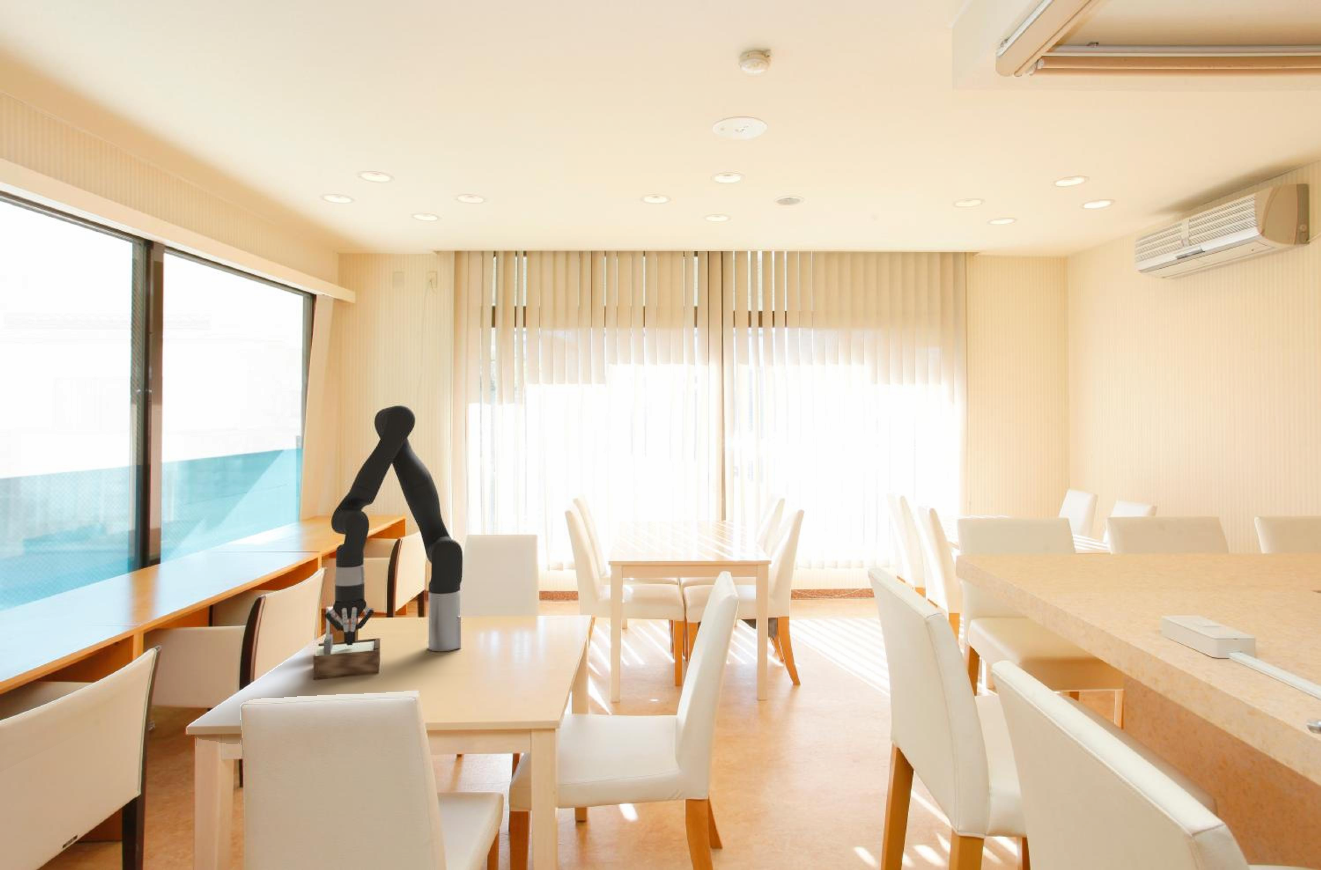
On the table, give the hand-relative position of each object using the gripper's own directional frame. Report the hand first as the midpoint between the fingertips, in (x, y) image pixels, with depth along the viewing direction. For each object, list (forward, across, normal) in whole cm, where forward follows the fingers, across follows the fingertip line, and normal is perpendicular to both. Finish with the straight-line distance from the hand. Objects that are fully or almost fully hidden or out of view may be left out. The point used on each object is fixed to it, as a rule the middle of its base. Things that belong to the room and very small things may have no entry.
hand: (349, 644), depth 197 cm
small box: (+7, +3, -19) cm, 21 cm away
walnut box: (+7, 0, 0) cm, 7 cm away
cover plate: (+2, +1, 0) cm, 2 cm away
